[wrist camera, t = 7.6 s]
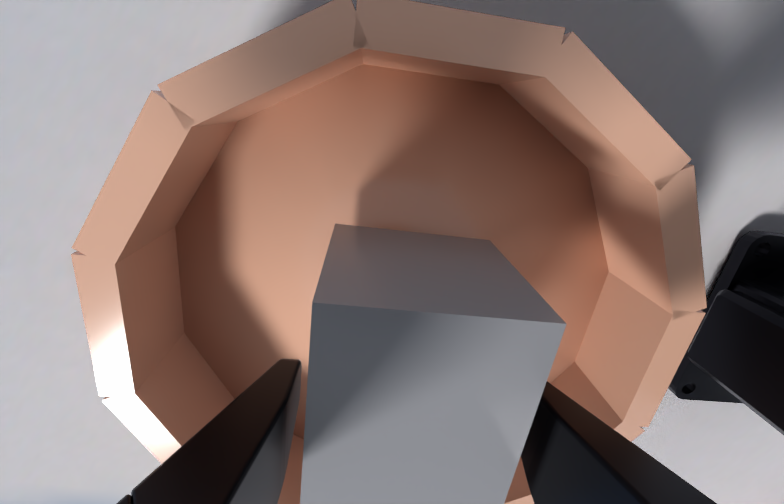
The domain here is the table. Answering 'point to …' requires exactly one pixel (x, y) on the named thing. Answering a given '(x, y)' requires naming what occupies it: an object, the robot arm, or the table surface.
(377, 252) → the grey rectangular prism
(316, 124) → the bowl
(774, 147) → the table surface
